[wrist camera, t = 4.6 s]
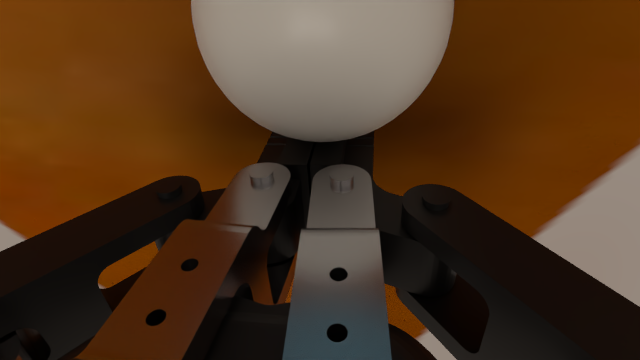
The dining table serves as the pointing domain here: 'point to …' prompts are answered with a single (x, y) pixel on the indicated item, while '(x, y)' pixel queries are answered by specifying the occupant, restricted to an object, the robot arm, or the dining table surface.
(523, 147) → the dining table surface
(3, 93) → the dining table surface
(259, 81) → the ball
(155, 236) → the robot arm
